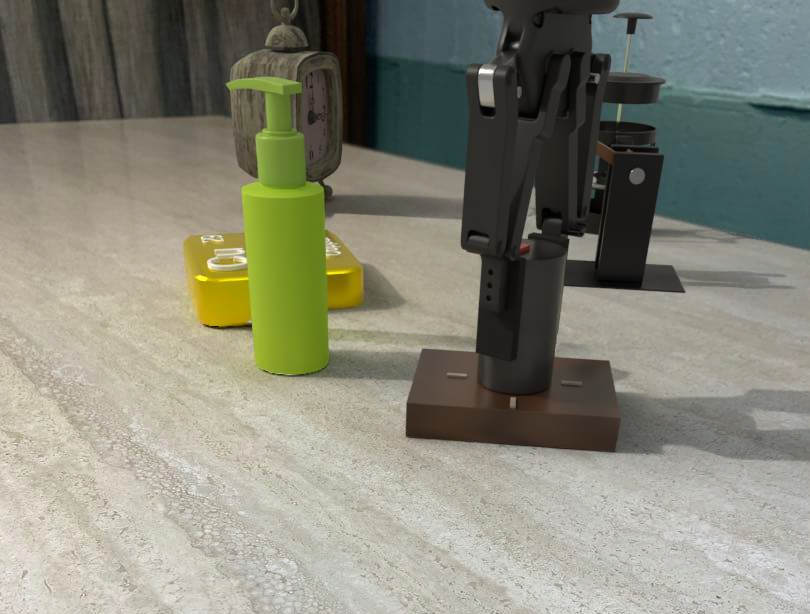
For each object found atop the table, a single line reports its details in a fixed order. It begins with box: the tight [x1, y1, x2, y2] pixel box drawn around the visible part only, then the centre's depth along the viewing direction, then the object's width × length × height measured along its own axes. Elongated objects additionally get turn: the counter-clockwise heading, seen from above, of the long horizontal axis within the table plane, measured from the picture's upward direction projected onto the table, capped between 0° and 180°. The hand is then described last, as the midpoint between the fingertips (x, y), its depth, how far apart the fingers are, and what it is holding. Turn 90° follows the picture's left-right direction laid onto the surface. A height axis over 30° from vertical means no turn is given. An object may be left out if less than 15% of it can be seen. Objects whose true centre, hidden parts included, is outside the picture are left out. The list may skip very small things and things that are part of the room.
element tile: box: [182, 228, 364, 328], centre depth 81 cm, size 15×15×5 cm
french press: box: [577, 12, 667, 236], centre depth 98 cm, size 12×9×23 cm
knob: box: [477, 237, 568, 394], centre depth 58 cm, size 5×5×9 cm
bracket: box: [564, 144, 686, 294], centre depth 84 cm, size 12×9×13 cm
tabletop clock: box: [229, 0, 344, 199], centre depth 108 cm, size 14×9×25 cm, turn 161°
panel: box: [405, 347, 622, 453], centre depth 61 cm, size 14×10×3 cm
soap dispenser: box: [225, 77, 330, 375], centre depth 64 cm, size 6×7×20 cm
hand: (517, 342), depth 59 cm, fingers closed on knob, 5 cm apart
